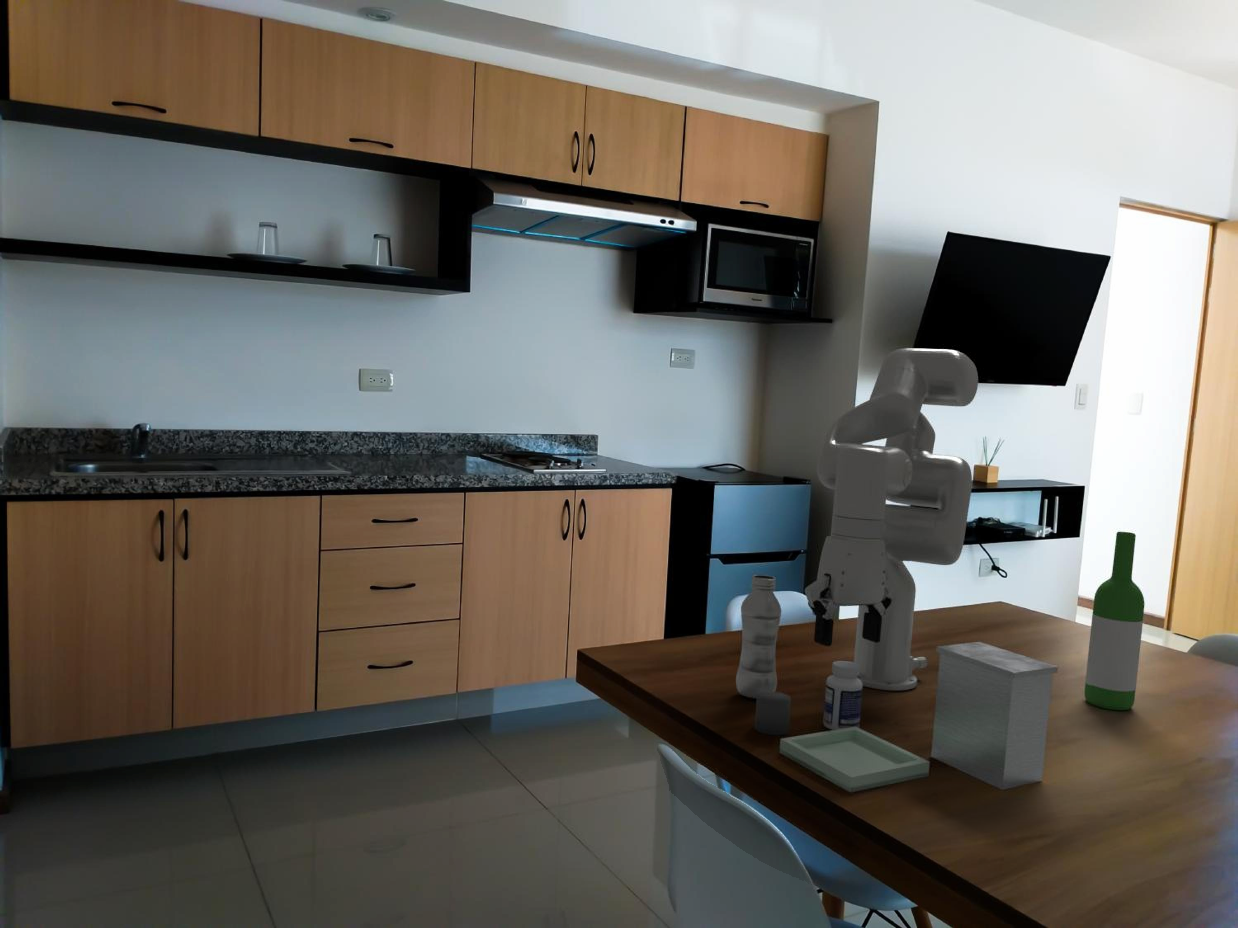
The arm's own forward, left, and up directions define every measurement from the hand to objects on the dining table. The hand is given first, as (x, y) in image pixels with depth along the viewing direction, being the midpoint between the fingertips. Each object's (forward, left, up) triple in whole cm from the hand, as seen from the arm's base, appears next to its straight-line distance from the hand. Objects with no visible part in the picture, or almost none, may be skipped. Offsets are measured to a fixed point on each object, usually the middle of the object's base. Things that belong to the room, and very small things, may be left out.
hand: (847, 642), depth 144 cm
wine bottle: (-55, +8, -14) cm, 57 cm away
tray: (+8, +12, -13) cm, 20 cm away
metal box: (-9, +20, -13) cm, 25 cm away
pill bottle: (-1, 0, -14) cm, 14 cm away
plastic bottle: (+3, -16, -14) cm, 21 cm away
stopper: (+10, -3, -13) cm, 17 cm away
